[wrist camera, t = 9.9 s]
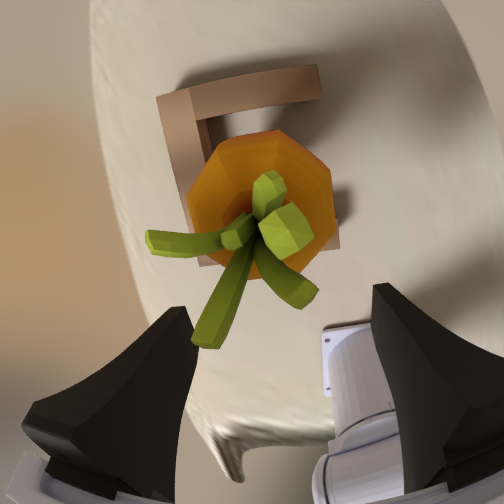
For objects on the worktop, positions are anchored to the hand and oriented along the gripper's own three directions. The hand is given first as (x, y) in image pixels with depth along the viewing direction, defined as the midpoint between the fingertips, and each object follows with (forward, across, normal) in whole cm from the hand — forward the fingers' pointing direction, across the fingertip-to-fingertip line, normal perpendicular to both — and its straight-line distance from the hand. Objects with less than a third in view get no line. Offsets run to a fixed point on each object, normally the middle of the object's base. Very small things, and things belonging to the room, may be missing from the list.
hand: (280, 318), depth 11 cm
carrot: (+10, 0, -4) cm, 11 cm away
